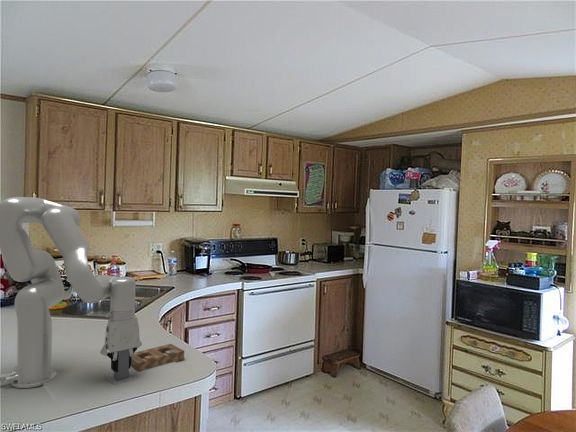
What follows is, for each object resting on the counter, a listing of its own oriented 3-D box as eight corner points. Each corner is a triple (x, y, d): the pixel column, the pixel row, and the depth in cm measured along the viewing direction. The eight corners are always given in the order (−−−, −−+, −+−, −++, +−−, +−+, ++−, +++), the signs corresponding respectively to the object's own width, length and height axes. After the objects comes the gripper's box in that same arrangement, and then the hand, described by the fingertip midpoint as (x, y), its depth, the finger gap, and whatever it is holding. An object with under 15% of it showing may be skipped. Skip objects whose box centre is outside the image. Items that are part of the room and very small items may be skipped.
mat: (114, 386, 128) (114, 385, 128) (104, 378, 133) (104, 376, 133) (138, 379, 133) (138, 377, 133) (128, 372, 139) (128, 370, 139)
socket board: (137, 373, 138) (138, 361, 138) (125, 364, 145) (125, 353, 145) (184, 359, 151) (184, 349, 151) (170, 352, 158) (170, 342, 158)
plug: (117, 380, 131) (118, 347, 131) (113, 376, 133) (114, 344, 133) (128, 377, 133) (129, 345, 133) (124, 374, 136) (124, 342, 135)
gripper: (101, 321, 124) (99, 380, 125) (151, 312, 136) (150, 366, 136) (92, 316, 129) (90, 372, 130) (141, 308, 141) (140, 359, 142)
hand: (121, 368), depth 133 cm, fingers closed on plug, 3 cm apart
